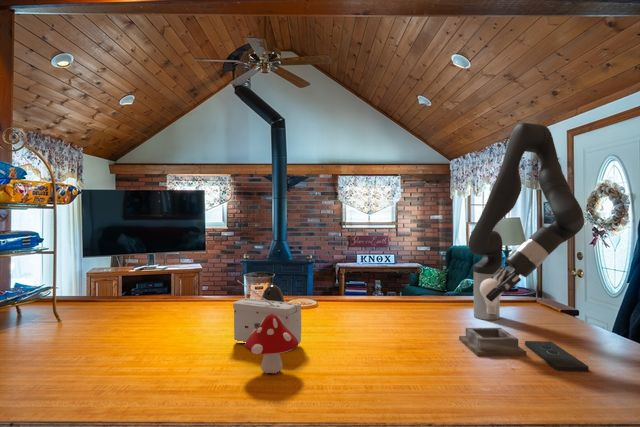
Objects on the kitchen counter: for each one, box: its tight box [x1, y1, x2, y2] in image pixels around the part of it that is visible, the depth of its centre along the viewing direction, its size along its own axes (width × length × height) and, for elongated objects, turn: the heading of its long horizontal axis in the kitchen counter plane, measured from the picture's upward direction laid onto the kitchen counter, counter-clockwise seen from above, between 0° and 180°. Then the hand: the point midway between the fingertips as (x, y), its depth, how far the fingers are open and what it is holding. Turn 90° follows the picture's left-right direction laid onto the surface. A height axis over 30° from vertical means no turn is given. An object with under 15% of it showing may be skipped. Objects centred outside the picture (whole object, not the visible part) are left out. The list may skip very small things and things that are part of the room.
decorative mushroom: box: [243, 314, 299, 374], centre depth 101 cm, size 14×14×15 cm
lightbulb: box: [480, 278, 503, 315], centre depth 118 cm, size 6×6×11 cm
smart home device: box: [524, 340, 590, 373], centre depth 110 cm, size 8×2×20 cm
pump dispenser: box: [260, 284, 285, 302], centre depth 139 cm, size 10×10×15 cm
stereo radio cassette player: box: [232, 279, 302, 345], centre depth 122 cm, size 21×8×20 cm, turn 65°
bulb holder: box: [458, 327, 527, 357], centre depth 118 cm, size 14×14×4 cm
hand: (485, 296), depth 118 cm, fingers closed on lightbulb, 6 cm apart
